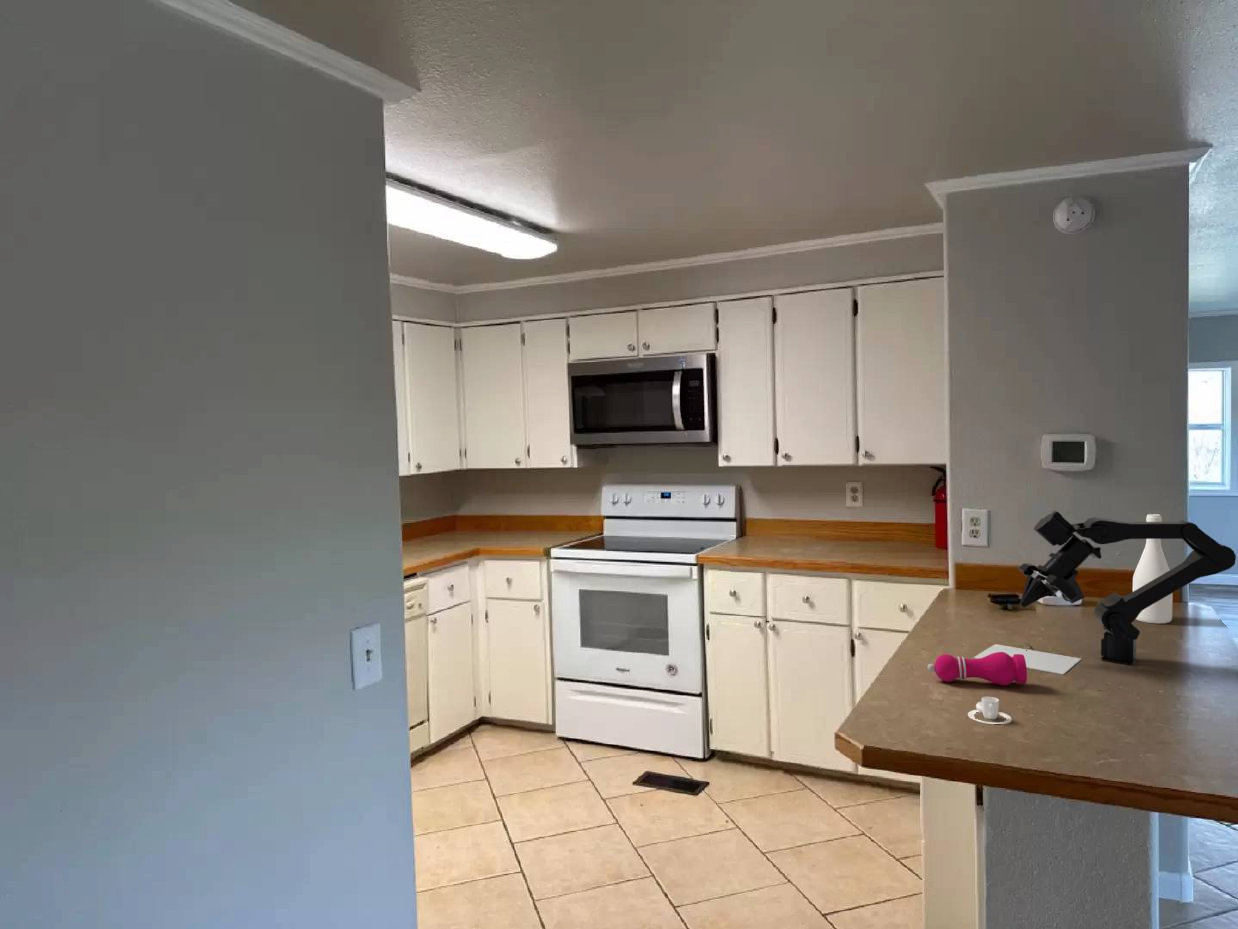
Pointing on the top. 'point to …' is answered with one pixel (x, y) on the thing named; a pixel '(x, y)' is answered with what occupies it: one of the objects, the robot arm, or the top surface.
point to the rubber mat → (1036, 659)
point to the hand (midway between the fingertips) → (1021, 605)
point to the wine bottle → (1149, 570)
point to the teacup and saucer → (989, 710)
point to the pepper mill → (982, 668)
